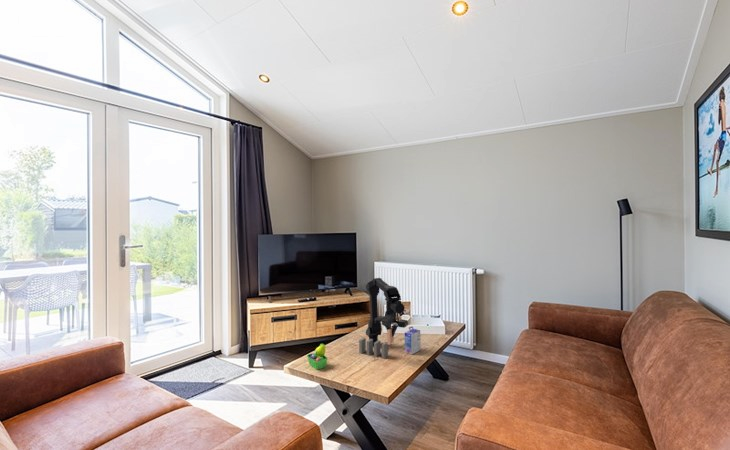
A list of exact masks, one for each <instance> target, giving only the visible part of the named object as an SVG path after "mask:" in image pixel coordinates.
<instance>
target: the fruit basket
mask: <svg viewBox="0 0 730 450" xmlns="http://www.w3.org/2000/svg"><path fill="white" fill-rule="evenodd" d="M314 351H315V352H312V353H308V354H307V355H306V357H307V360H308V363H309V365H310V366H312V367H313V368H314V369H315V370H316V371H317V370H320V369H323V368H326V365H327V361H328V357H327V356H325V354H326V345H325V344H324V343H320V344H319V346H318V347H316V348H315V350H314Z"/></svg>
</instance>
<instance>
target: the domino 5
mask: <svg viewBox="0 0 730 450" xmlns="http://www.w3.org/2000/svg"><path fill="white" fill-rule="evenodd" d="M386 334H387V335H386V337H387V339H386V340H387V341H386V342H387V344H388V346H389V345H392V343H394V341H395V340H394V339H395V337H394V336H395V335H394V336H393V337H392V327H391V328H390V329H388V330H387V329H386Z"/></svg>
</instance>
